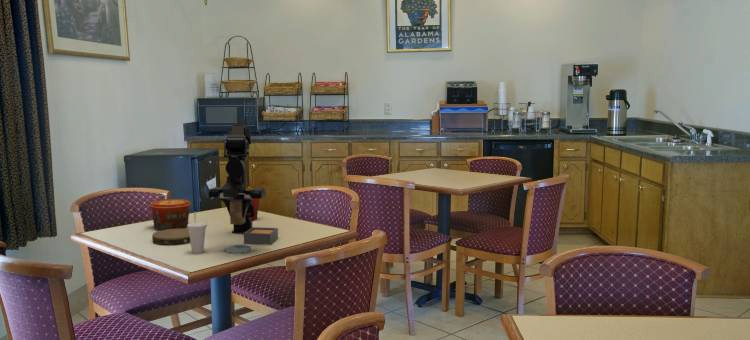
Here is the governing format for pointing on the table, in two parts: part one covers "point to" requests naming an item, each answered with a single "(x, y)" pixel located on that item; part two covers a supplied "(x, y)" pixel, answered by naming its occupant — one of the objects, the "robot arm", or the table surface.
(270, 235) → the box
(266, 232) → the button
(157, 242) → the tin can
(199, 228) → the smoothie
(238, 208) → the brown upright block
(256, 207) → the french fries
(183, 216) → the food container
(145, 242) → the table surface
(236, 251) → the saucer
